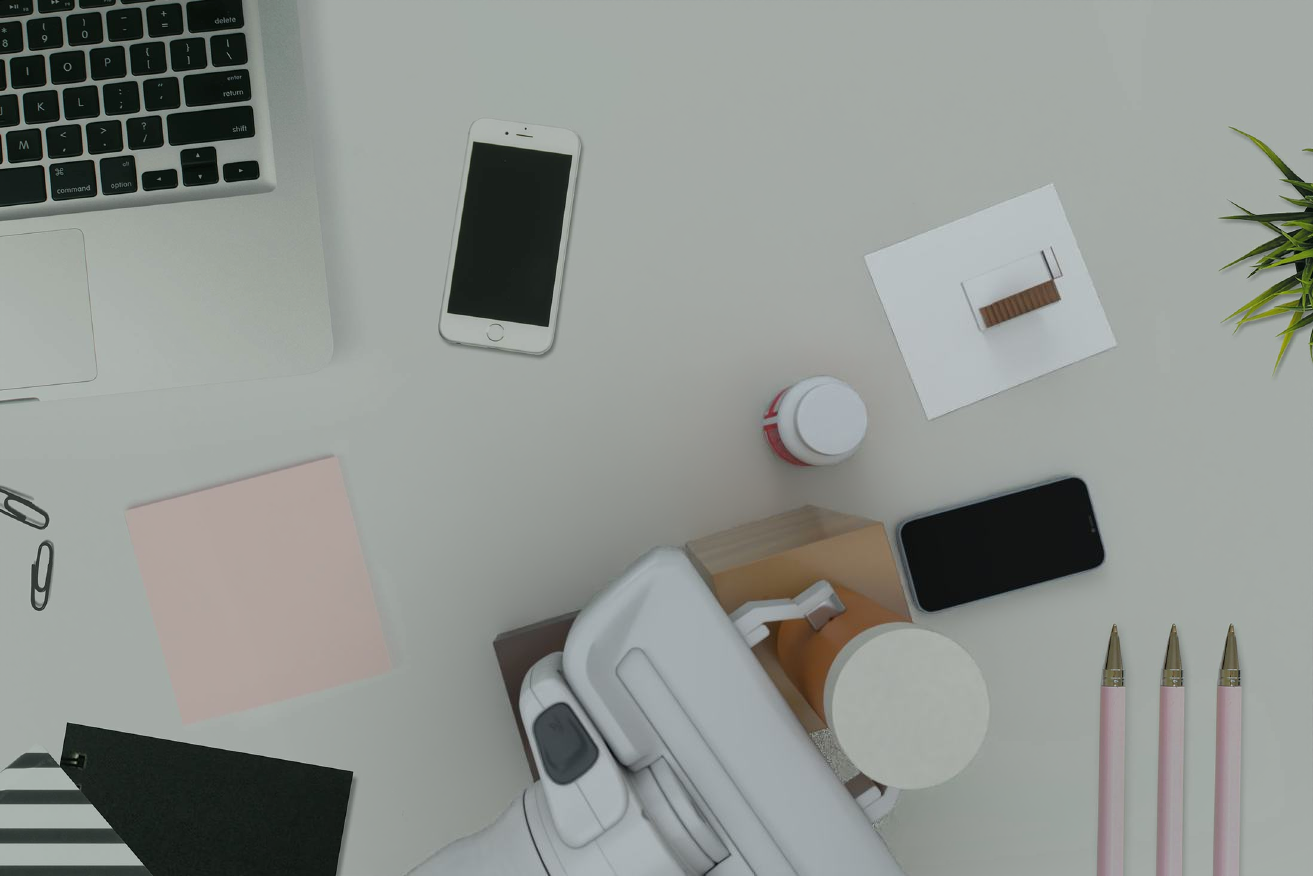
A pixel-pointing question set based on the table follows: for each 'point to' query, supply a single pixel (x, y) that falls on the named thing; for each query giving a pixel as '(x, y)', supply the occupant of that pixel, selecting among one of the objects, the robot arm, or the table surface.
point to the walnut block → (529, 662)
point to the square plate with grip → (990, 301)
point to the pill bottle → (815, 422)
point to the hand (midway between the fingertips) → (880, 658)
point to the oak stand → (797, 573)
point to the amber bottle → (889, 692)
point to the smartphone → (1001, 544)
